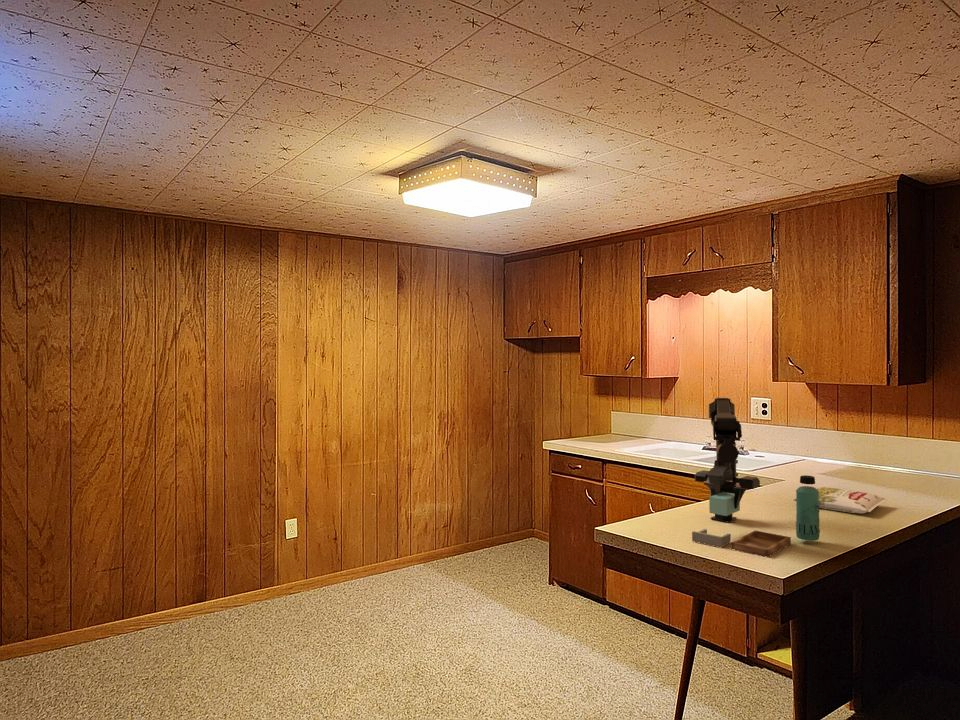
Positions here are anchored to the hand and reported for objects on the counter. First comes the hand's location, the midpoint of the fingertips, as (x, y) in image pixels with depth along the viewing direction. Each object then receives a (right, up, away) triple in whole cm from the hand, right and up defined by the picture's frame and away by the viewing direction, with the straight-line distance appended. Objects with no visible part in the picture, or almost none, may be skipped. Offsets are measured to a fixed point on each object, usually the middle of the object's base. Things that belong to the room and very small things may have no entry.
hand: (726, 506), depth 204 cm
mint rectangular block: (-1, -1, -1) cm, 2 cm away
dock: (-7, -9, -6) cm, 13 cm away
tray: (+6, -9, -12) cm, 16 cm away
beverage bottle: (+21, -9, -9) cm, 24 cm away
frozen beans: (+53, -8, +31) cm, 62 cm away
